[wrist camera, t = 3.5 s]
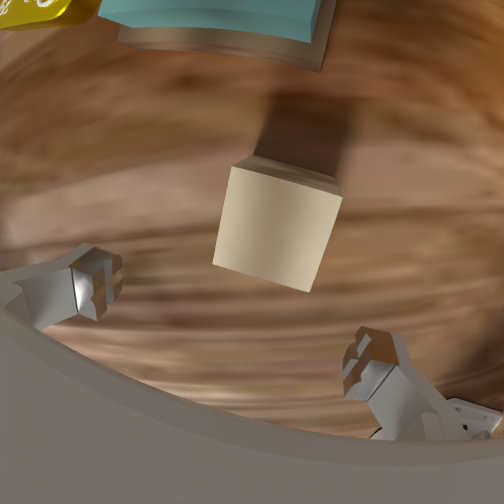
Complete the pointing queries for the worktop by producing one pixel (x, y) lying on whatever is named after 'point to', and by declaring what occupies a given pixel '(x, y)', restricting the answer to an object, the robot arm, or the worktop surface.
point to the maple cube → (276, 221)
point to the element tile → (44, 13)
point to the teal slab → (219, 15)
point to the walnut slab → (238, 41)
